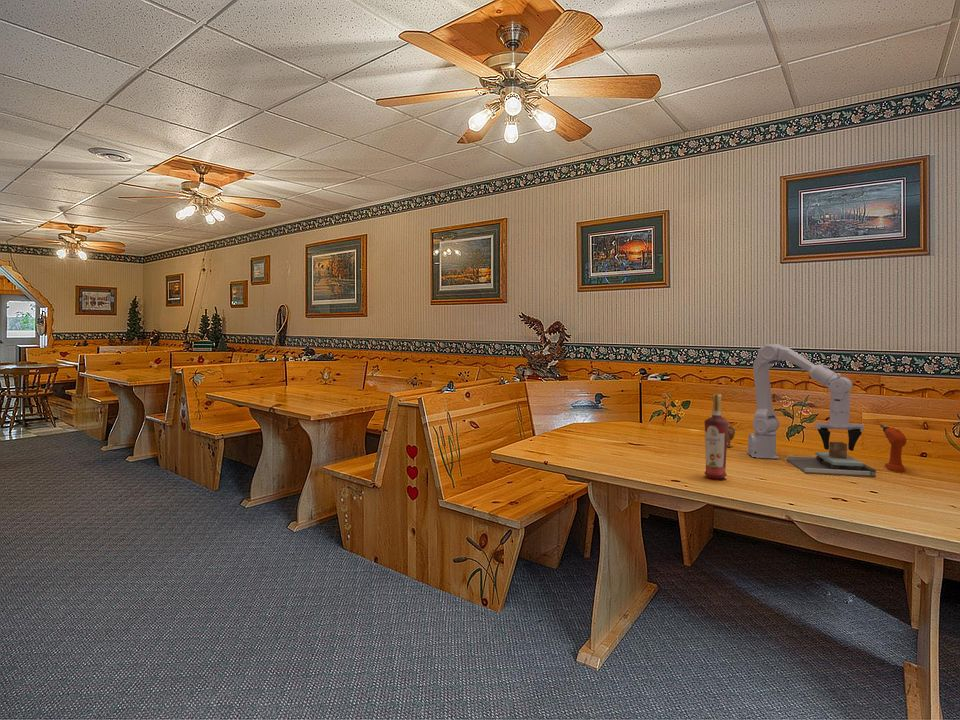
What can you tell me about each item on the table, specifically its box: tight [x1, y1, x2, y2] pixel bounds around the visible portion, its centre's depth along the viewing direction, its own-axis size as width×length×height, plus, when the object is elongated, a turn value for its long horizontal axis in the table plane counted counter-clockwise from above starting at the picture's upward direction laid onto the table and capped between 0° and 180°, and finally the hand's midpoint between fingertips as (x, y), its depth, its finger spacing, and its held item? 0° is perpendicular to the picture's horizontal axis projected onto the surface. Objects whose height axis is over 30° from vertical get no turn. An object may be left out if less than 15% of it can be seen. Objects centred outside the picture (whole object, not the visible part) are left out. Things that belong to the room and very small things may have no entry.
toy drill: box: [879, 424, 907, 473], centre depth 189 cm, size 5×19×15 cm, turn 161°
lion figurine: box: [727, 425, 736, 448], centre depth 221 cm, size 15×5×9 cm, turn 113°
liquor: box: [703, 393, 730, 480], centre depth 174 cm, size 7×7×28 cm
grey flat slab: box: [814, 451, 864, 471], centre depth 186 cm, size 9×16×3 cm, turn 166°
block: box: [828, 441, 848, 459], centre depth 186 cm, size 4×4×5 cm
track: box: [786, 455, 877, 478], centre depth 186 cm, size 21×19×2 cm
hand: (838, 449), depth 185 cm, fingers open, 7 cm apart
